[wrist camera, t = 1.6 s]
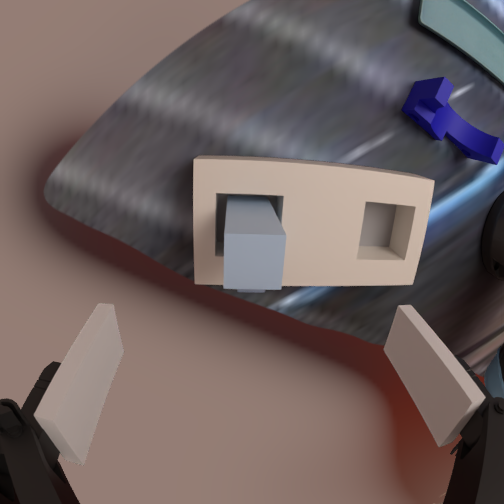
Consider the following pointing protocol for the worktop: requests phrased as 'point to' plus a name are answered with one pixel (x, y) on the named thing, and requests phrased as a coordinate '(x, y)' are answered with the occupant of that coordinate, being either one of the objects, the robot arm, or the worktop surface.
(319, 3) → the worktop surface
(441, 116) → the blue angular bent piece
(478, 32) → the rectangular tray
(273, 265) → the plug
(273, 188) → the socket strip
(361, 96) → the worktop surface
